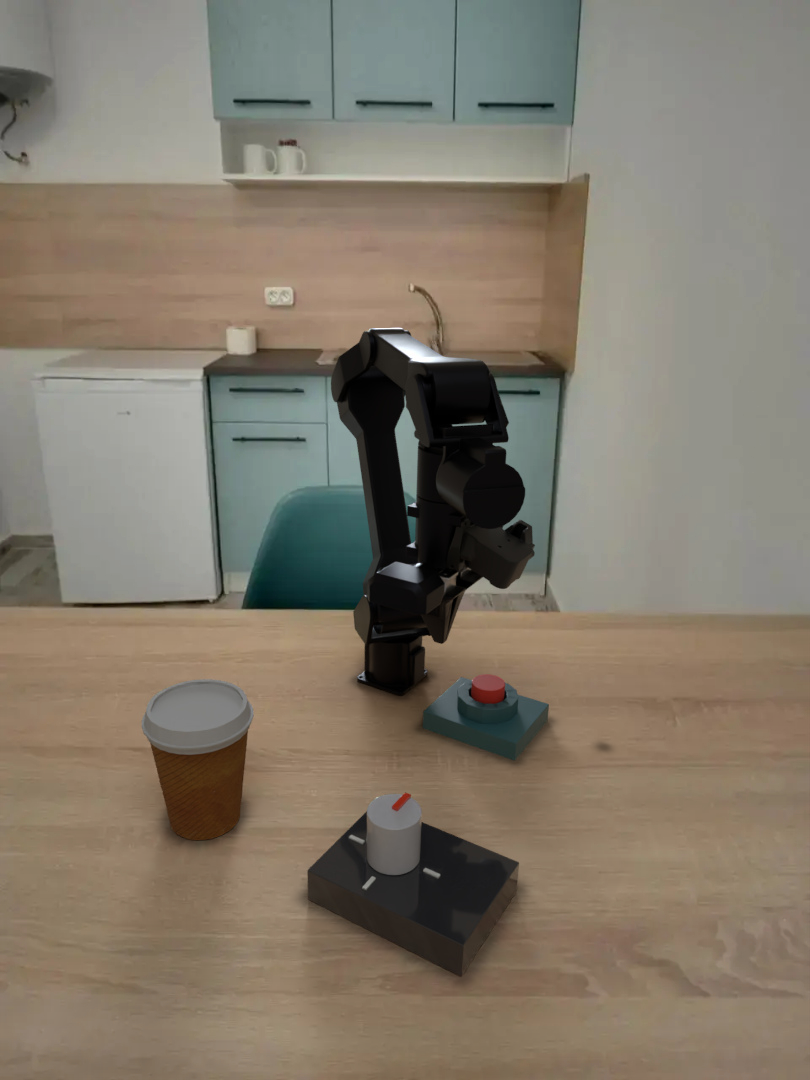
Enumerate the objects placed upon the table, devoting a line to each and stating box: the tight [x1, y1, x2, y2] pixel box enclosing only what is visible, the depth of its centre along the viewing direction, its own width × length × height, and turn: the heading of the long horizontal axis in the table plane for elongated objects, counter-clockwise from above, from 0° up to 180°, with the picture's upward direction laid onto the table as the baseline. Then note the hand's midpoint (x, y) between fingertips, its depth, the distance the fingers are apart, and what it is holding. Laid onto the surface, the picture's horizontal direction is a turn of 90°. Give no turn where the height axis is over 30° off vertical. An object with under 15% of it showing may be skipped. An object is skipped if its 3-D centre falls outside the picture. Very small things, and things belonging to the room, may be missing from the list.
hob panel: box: [306, 810, 520, 977], centre depth 67 cm, size 14×10×3 cm
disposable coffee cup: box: [141, 678, 254, 841], centre depth 74 cm, size 10×10×12 cm
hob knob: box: [366, 791, 423, 875], centre depth 67 cm, size 4×4×5 cm
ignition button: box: [471, 673, 506, 704], centre depth 90 cm, size 4×4×2 cm
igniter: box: [422, 676, 550, 762], centre depth 91 cm, size 11×9×4 cm
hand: (440, 641), depth 84 cm, fingers closed
